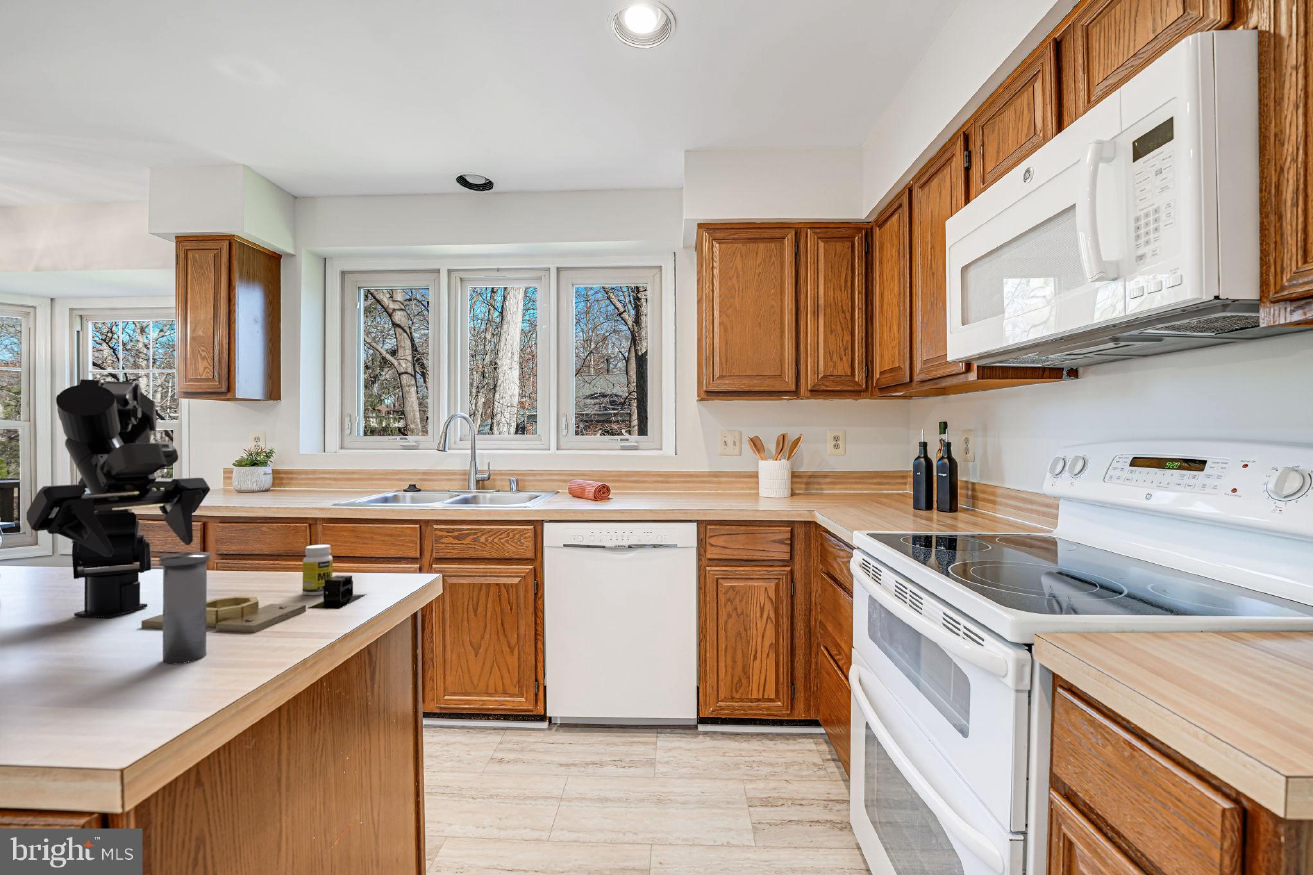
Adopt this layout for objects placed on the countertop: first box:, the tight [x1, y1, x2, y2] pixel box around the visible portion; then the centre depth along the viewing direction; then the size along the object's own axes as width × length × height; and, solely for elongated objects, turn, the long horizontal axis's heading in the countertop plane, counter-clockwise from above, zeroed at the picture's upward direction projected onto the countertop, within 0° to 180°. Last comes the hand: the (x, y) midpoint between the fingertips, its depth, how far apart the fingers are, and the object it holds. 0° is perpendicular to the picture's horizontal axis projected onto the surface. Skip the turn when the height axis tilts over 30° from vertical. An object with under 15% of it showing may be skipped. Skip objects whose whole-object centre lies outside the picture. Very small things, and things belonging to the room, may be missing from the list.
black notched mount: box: [306, 574, 368, 610], centre depth 106 cm, size 12×7×5 cm, turn 178°
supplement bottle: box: [302, 544, 334, 596], centre depth 112 cm, size 5×5×8 cm
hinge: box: [140, 595, 307, 633], centre depth 95 cm, size 18×11×2 cm, turn 84°
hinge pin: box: [158, 551, 212, 665], centre depth 78 cm, size 5×5×13 cm
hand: (152, 548), depth 82 cm, fingers open, 9 cm apart
